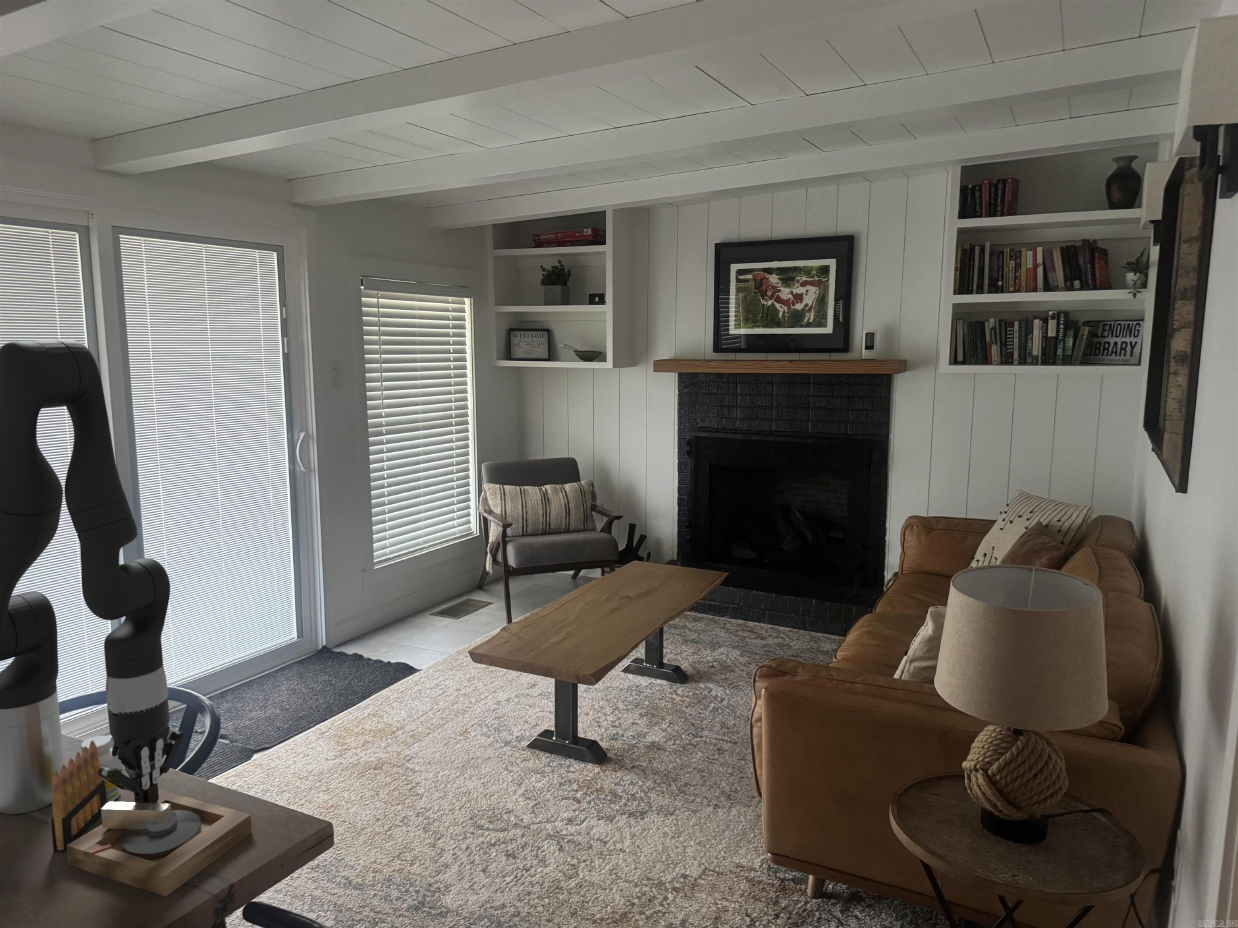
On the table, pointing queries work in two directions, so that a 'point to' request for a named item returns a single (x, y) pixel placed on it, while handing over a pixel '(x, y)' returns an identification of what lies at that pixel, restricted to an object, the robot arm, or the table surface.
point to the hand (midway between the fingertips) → (147, 807)
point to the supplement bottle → (104, 762)
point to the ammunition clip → (77, 798)
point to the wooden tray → (169, 872)
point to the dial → (150, 827)
